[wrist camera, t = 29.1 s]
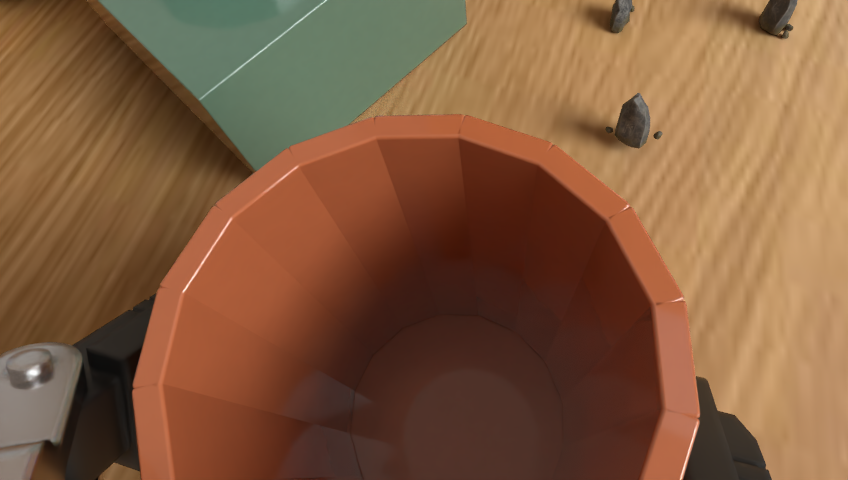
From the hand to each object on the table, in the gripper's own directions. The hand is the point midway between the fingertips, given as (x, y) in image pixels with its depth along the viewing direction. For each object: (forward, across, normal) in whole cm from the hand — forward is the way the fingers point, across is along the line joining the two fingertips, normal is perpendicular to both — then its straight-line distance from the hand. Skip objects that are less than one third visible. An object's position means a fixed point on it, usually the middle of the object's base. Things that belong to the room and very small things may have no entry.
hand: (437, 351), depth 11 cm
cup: (+3, 0, +4) cm, 6 cm away
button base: (+13, +11, -5) cm, 17 cm away
